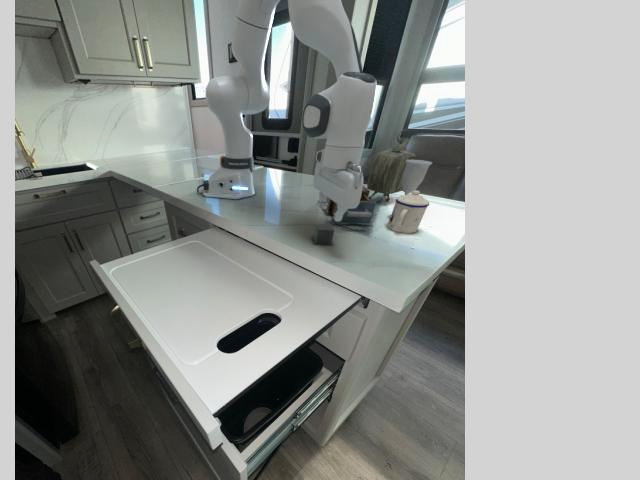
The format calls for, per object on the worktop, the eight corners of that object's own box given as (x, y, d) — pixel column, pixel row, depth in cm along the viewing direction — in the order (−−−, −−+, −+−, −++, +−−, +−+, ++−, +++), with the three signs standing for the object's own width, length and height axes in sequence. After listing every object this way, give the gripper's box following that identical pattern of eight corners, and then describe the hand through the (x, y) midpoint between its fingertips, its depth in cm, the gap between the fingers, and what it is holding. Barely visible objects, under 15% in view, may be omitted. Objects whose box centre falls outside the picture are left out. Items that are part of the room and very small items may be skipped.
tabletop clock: (383, 195, 115) (406, 126, 100) (403, 200, 109) (430, 129, 94) (362, 200, 109) (382, 128, 94) (381, 206, 103) (406, 130, 88)
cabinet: (362, 216, 95) (369, 191, 90) (326, 214, 95) (332, 190, 90) (350, 202, 107) (356, 179, 102) (319, 201, 108) (323, 178, 102)
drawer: (374, 229, 83) (381, 207, 79) (337, 227, 84) (343, 206, 80) (357, 208, 99) (362, 189, 94) (326, 207, 99) (330, 188, 95)
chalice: (404, 215, 96) (426, 160, 85) (412, 222, 90) (436, 164, 79) (383, 214, 96) (402, 159, 85) (389, 221, 91) (411, 163, 80)
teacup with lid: (391, 220, 92) (405, 185, 84) (420, 227, 87) (437, 190, 80) (379, 231, 85) (392, 193, 77) (409, 239, 80) (426, 200, 73)
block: (315, 244, 77) (318, 229, 74) (313, 237, 80) (315, 223, 77) (330, 244, 76) (334, 230, 74) (328, 238, 80) (331, 224, 77)
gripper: (377, 167, 57) (359, 228, 66) (335, 151, 73) (325, 202, 82) (349, 168, 57) (335, 229, 65) (313, 151, 72) (305, 203, 81)
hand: (329, 214), depth 73 cm, fingers open, 8 cm apart
